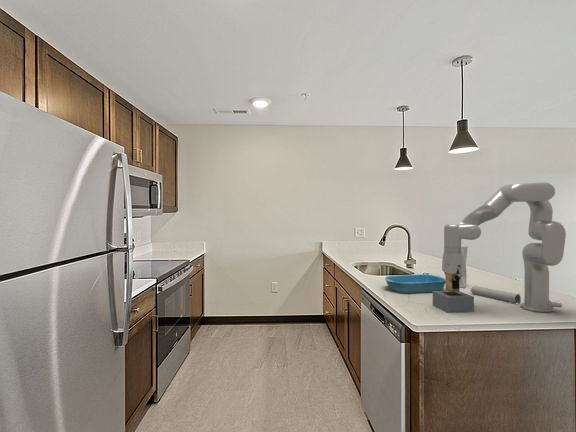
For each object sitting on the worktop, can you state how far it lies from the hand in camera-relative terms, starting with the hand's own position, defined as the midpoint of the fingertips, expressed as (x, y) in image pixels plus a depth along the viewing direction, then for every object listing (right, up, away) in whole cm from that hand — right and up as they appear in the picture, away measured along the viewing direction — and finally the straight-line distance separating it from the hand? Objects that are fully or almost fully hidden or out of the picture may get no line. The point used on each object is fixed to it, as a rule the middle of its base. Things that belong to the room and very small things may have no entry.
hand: (452, 287), depth 163 cm
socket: (0, -10, 0) cm, 10 cm away
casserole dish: (-3, -10, +40) cm, 42 cm away
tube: (+31, -10, +19) cm, 38 cm away
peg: (0, -2, 0) cm, 2 cm away
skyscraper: (+28, -10, +47) cm, 56 cm away
